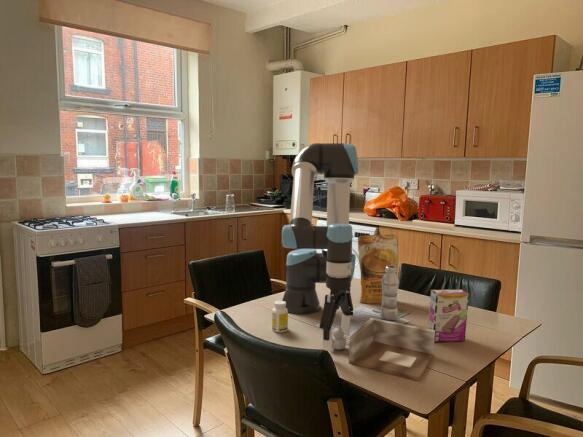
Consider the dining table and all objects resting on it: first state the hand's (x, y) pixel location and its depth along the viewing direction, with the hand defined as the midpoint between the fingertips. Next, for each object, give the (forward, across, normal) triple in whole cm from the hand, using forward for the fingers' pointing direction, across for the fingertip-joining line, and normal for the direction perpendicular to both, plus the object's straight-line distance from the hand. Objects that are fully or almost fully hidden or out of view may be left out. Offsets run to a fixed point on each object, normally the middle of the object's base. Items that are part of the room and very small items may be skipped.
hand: (336, 342), depth 135 cm
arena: (+2, +2, -17) cm, 17 cm away
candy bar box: (+2, +26, -28) cm, 38 cm away
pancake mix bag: (+2, +53, +5) cm, 54 cm away
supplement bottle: (+2, +4, +23) cm, 24 cm away
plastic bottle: (+2, +34, -6) cm, 35 cm away
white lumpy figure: (+3, 0, 0) cm, 3 cm away
